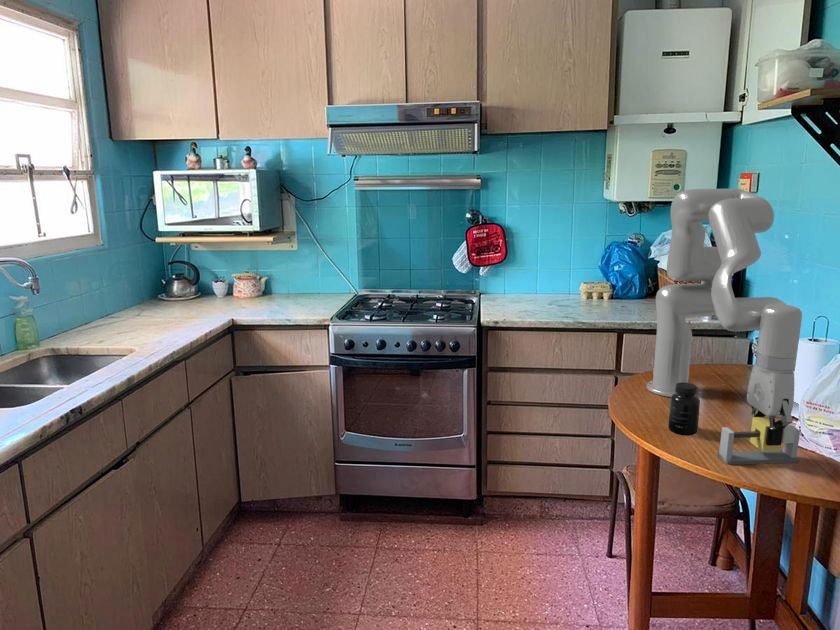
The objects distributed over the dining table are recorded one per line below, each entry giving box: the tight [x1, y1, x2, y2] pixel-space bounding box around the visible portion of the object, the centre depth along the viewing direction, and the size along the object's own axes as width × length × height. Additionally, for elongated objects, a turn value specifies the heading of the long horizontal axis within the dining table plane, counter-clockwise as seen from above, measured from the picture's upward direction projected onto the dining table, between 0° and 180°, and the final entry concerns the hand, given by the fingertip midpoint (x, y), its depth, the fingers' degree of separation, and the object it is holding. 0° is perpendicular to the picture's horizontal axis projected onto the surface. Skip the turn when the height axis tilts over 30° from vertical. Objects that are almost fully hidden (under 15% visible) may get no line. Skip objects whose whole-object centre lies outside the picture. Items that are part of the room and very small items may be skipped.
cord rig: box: [716, 424, 801, 465], centre depth 137 cm, size 4×16×8 cm, turn 92°
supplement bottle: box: [668, 382, 701, 437], centre depth 152 cm, size 7×7×12 cm
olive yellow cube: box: [749, 416, 782, 452], centre depth 137 cm, size 5×4×6 cm
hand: (765, 438), depth 137 cm, fingers closed on olive yellow cube, 5 cm apart
